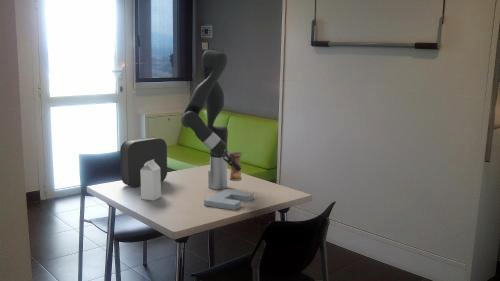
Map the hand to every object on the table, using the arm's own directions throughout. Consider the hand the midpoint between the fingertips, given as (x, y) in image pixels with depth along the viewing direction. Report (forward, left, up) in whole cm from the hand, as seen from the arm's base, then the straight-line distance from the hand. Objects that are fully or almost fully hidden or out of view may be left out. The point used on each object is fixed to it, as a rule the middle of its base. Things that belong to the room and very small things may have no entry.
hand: (239, 168), depth 229 cm
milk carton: (-42, -14, -17) cm, 47 cm away
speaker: (-62, +7, -17) cm, 65 cm away
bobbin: (-2, -1, -5) cm, 6 cm away
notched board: (-5, -1, -17) cm, 18 cm away
